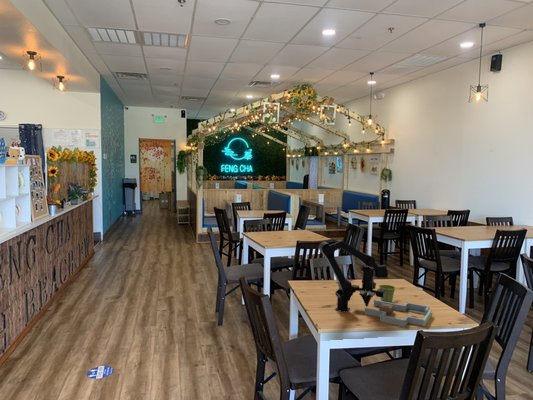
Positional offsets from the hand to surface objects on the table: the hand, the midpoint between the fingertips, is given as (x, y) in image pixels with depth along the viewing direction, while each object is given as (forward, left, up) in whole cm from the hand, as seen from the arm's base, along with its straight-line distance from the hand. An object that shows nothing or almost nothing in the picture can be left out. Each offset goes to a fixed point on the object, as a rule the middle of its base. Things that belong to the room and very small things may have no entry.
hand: (366, 306), depth 215 cm
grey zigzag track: (0, -16, -1) cm, 17 cm away
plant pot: (+19, -6, -2) cm, 20 cm away
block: (0, -11, -2) cm, 11 cm away
